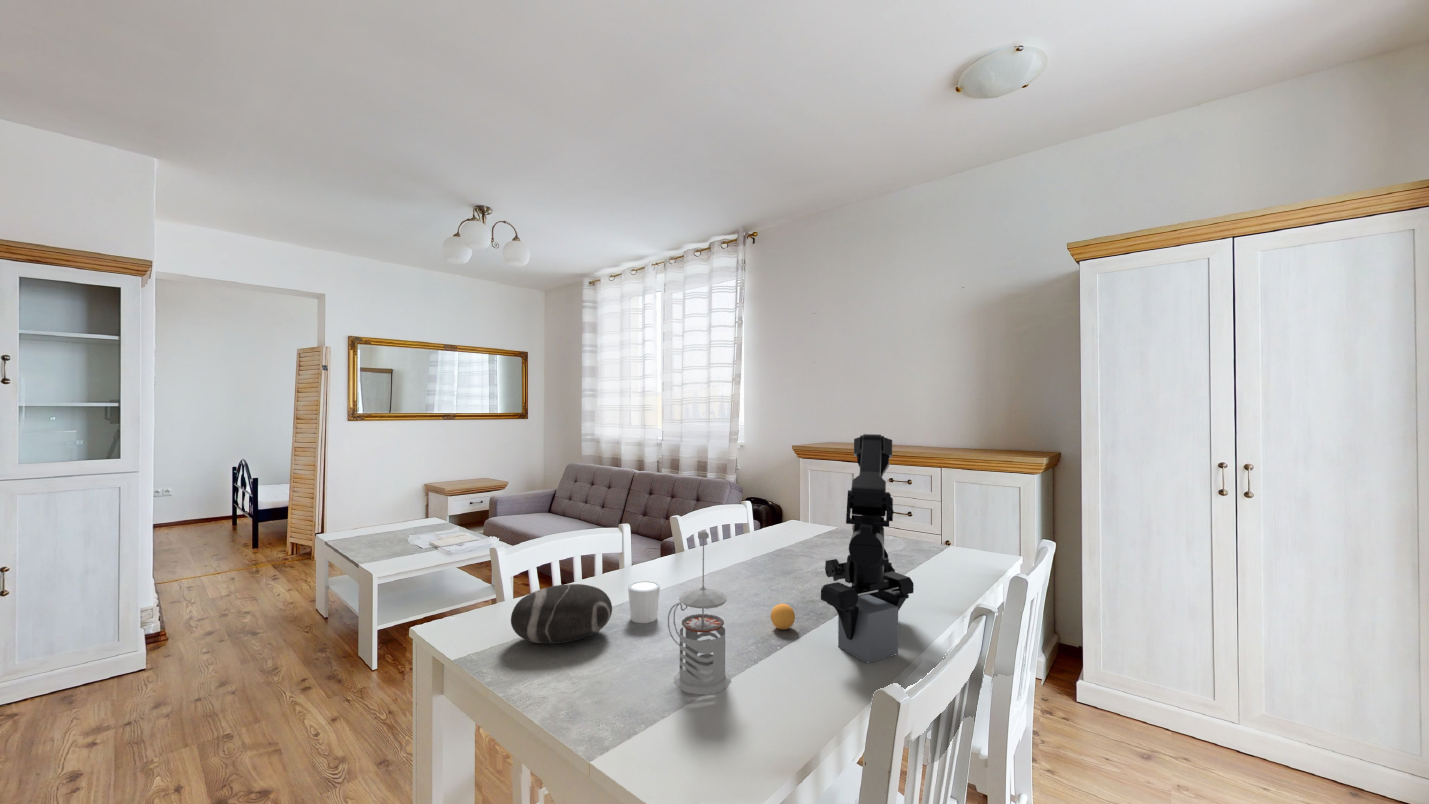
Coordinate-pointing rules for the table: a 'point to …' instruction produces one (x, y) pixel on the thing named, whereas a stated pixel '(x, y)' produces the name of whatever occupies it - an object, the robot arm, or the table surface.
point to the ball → (782, 616)
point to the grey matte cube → (872, 630)
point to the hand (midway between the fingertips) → (867, 634)
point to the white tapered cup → (643, 601)
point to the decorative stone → (561, 613)
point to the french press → (701, 641)
